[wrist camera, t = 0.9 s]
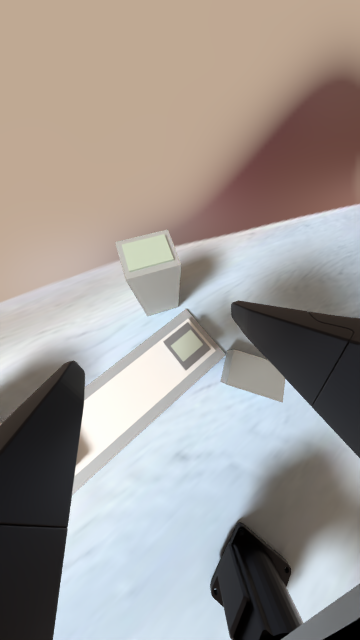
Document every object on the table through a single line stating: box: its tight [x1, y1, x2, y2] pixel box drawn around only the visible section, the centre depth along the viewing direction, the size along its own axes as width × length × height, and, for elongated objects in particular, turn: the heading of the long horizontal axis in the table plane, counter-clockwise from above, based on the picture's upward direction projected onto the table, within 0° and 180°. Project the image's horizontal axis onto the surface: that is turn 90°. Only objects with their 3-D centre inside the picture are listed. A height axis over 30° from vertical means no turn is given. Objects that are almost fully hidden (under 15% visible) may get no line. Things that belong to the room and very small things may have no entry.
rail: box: [72, 309, 226, 495], centre depth 20 cm, size 9×28×1 cm, turn 129°
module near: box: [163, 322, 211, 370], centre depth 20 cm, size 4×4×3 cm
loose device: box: [220, 349, 285, 402], centre depth 21 cm, size 7×4×3 cm, turn 73°
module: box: [116, 230, 181, 316], centre depth 19 cm, size 4×5×11 cm
